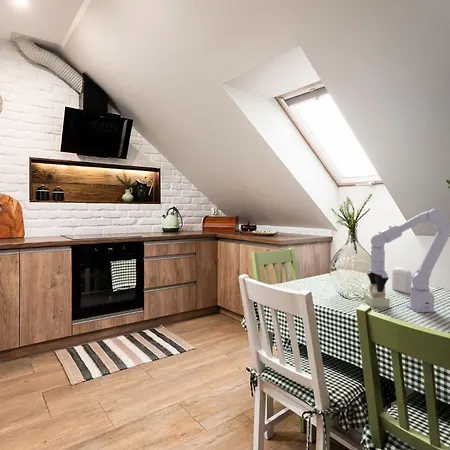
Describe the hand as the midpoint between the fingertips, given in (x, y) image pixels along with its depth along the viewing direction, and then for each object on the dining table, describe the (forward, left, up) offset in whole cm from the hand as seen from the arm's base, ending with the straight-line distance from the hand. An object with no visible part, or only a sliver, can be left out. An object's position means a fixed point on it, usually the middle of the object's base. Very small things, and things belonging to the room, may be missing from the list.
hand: (377, 290), depth 160 cm
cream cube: (0, 0, -3) cm, 3 cm away
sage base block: (0, 0, -7) cm, 7 cm away
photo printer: (+22, -23, -7) cm, 33 cm away
